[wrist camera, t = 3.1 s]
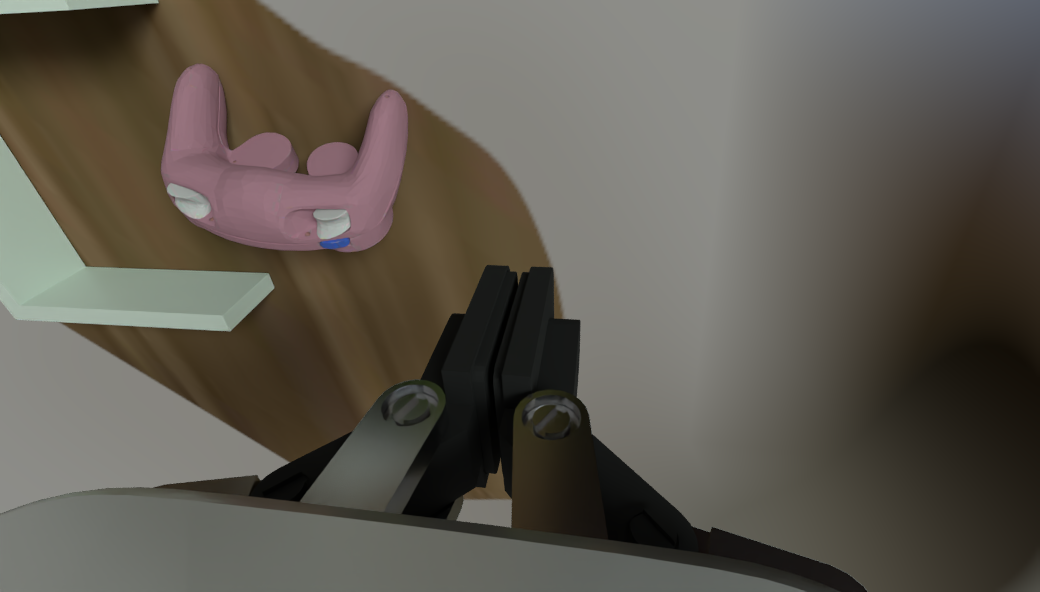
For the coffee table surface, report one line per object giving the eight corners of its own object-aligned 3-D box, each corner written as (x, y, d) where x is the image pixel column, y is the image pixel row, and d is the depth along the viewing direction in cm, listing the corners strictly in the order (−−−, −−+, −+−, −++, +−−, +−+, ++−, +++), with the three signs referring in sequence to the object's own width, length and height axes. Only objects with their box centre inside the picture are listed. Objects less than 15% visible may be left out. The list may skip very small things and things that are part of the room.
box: (-114, -9, 21) (-246, -5, 18) (146, -27, 19) (52, -26, 16) (81, 280, 29) (15, 319, 26) (274, 288, 27) (230, 331, 24)
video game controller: (238, 133, 24) (166, 247, 21) (184, 50, 20) (85, 174, 17) (428, 161, 24) (386, 282, 20) (412, 80, 19) (355, 215, 16)
